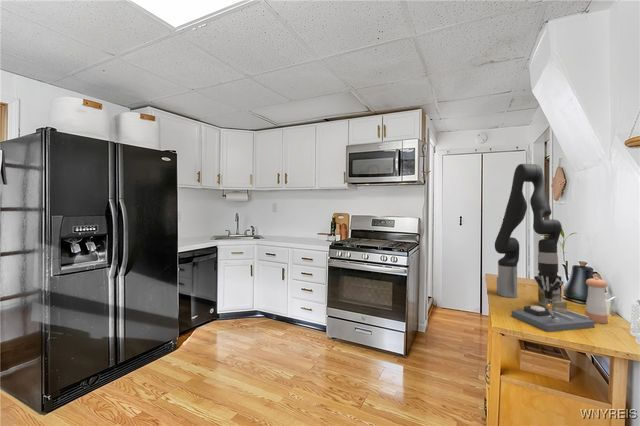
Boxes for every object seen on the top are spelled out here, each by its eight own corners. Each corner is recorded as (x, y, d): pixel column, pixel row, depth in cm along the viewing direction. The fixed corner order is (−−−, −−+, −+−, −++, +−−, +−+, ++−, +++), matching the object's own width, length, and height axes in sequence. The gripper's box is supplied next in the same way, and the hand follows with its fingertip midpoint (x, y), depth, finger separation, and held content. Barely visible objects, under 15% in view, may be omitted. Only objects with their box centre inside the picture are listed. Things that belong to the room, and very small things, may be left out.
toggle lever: (549, 318, 123) (543, 304, 122) (552, 316, 123) (547, 302, 123) (553, 320, 121) (548, 306, 120) (557, 317, 121) (552, 304, 121)
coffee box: (562, 309, 144) (562, 276, 144) (547, 308, 145) (547, 276, 145) (551, 303, 153) (551, 272, 153) (537, 302, 154) (537, 272, 154)
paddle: (552, 312, 132) (552, 301, 132) (563, 311, 133) (563, 300, 133) (555, 313, 131) (555, 302, 131) (566, 312, 132) (566, 301, 132)
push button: (527, 311, 134) (527, 305, 134) (537, 310, 135) (537, 305, 135) (538, 315, 129) (538, 309, 129) (547, 314, 130) (548, 308, 130)
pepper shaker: (612, 322, 127) (612, 278, 126) (598, 324, 125) (598, 279, 125) (594, 316, 134) (594, 275, 134) (580, 317, 133) (580, 275, 132)
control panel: (511, 315, 136) (511, 306, 136) (553, 312, 140) (553, 303, 140) (548, 331, 118) (548, 320, 118) (594, 327, 122) (594, 316, 122)
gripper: (568, 263, 132) (569, 302, 132) (541, 259, 145) (542, 294, 145) (555, 264, 130) (555, 303, 130) (528, 260, 143) (529, 295, 143)
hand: (548, 298), depth 137 cm, fingers closed
